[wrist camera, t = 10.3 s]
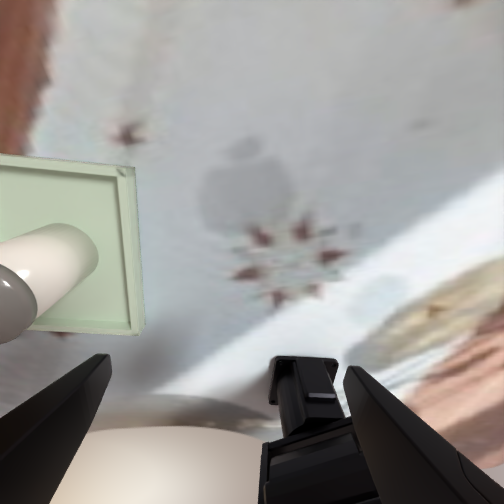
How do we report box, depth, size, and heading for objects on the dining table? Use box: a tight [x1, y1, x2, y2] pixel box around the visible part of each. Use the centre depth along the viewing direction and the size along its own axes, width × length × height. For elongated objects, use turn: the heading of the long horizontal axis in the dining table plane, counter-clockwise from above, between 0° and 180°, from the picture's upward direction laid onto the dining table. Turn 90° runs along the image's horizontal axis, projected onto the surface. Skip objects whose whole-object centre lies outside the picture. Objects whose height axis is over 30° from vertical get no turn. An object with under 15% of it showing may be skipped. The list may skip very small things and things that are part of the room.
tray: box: [0, 153, 145, 336], centre depth 19 cm, size 14×11×2 cm
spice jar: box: [0, 223, 99, 344], centre depth 16 cm, size 5×5×7 cm
